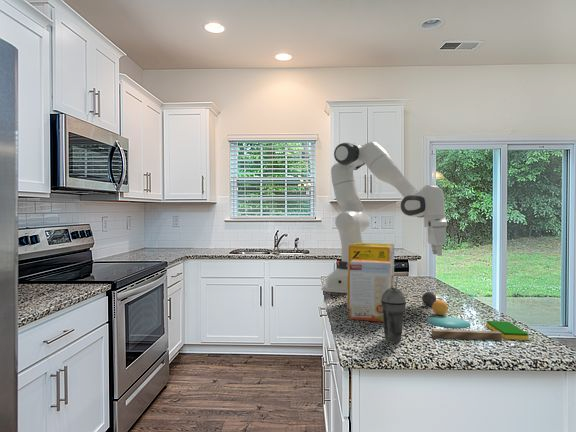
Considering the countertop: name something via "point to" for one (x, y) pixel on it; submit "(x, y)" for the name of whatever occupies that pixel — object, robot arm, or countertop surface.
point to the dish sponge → (508, 330)
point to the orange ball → (440, 307)
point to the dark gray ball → (428, 298)
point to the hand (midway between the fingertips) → (437, 255)
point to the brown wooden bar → (466, 334)
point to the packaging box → (370, 258)
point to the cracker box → (368, 288)
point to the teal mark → (448, 322)
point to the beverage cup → (393, 313)
